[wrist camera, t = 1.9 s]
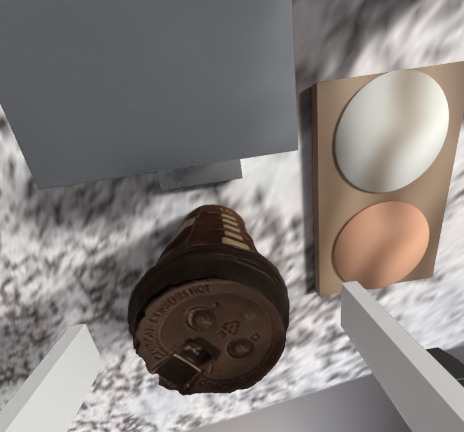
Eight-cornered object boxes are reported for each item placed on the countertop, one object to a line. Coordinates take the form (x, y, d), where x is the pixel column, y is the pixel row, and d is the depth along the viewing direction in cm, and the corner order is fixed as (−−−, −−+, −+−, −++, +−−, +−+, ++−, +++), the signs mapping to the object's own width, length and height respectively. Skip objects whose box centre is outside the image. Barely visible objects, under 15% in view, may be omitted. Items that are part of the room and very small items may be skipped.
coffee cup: (177, 273, 23) (135, 418, 11) (162, 198, 21) (84, 280, 8) (257, 264, 24) (302, 393, 11) (252, 189, 21) (305, 254, 9)
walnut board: (315, 289, 25) (321, 298, 24) (310, 86, 19) (318, 81, 17) (422, 271, 26) (434, 278, 24) (457, 64, 19) (477, 58, 17)
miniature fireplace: (155, 187, 20) (67, 254, 8) (132, 98, 18) (-43, 6, 6) (250, 173, 20) (300, 216, 8) (240, 83, 18) (290, -38, 6)
